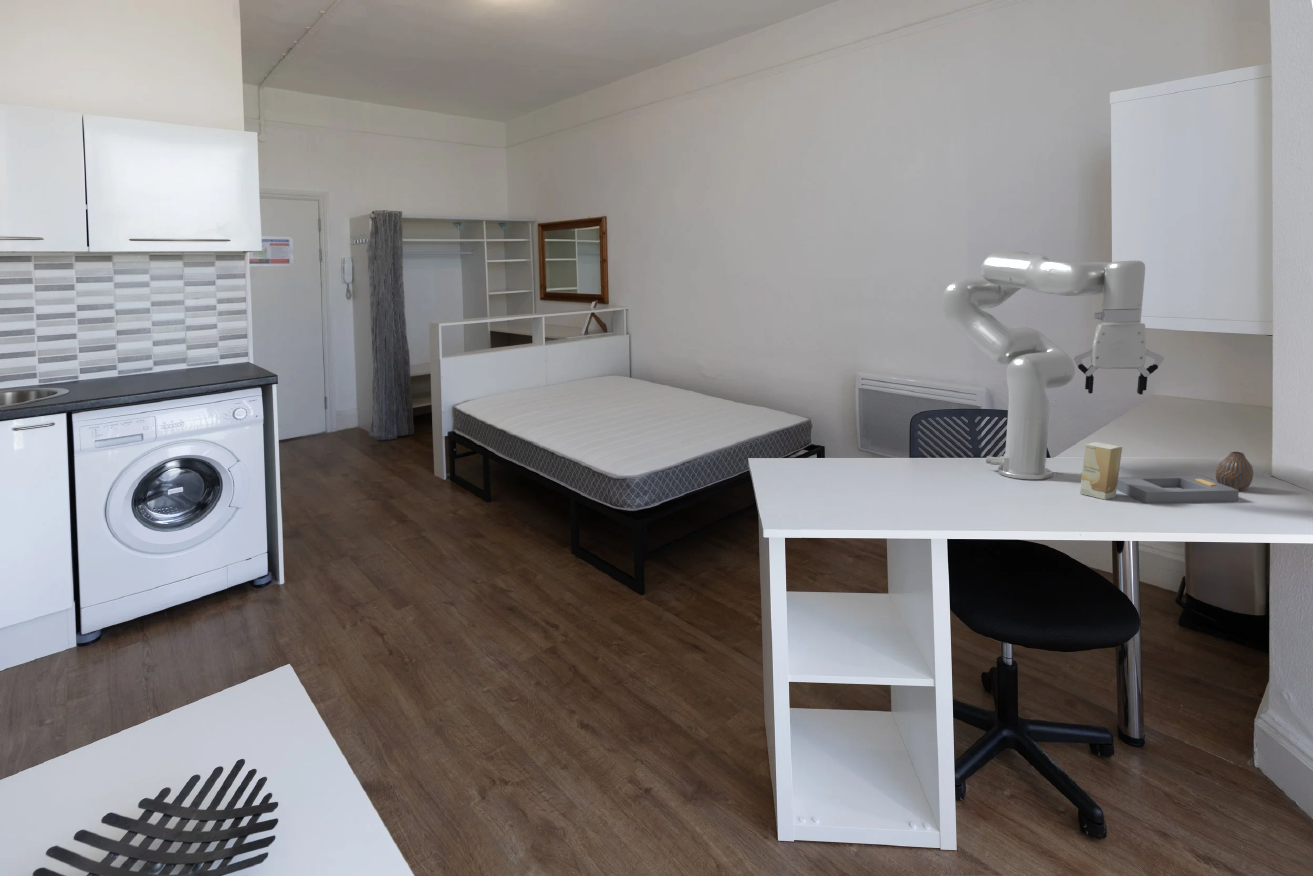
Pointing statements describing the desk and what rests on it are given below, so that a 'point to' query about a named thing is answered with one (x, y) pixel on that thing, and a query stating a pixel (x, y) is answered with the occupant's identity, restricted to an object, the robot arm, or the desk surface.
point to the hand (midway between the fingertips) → (1114, 393)
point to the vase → (1235, 471)
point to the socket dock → (1176, 489)
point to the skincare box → (1100, 470)
